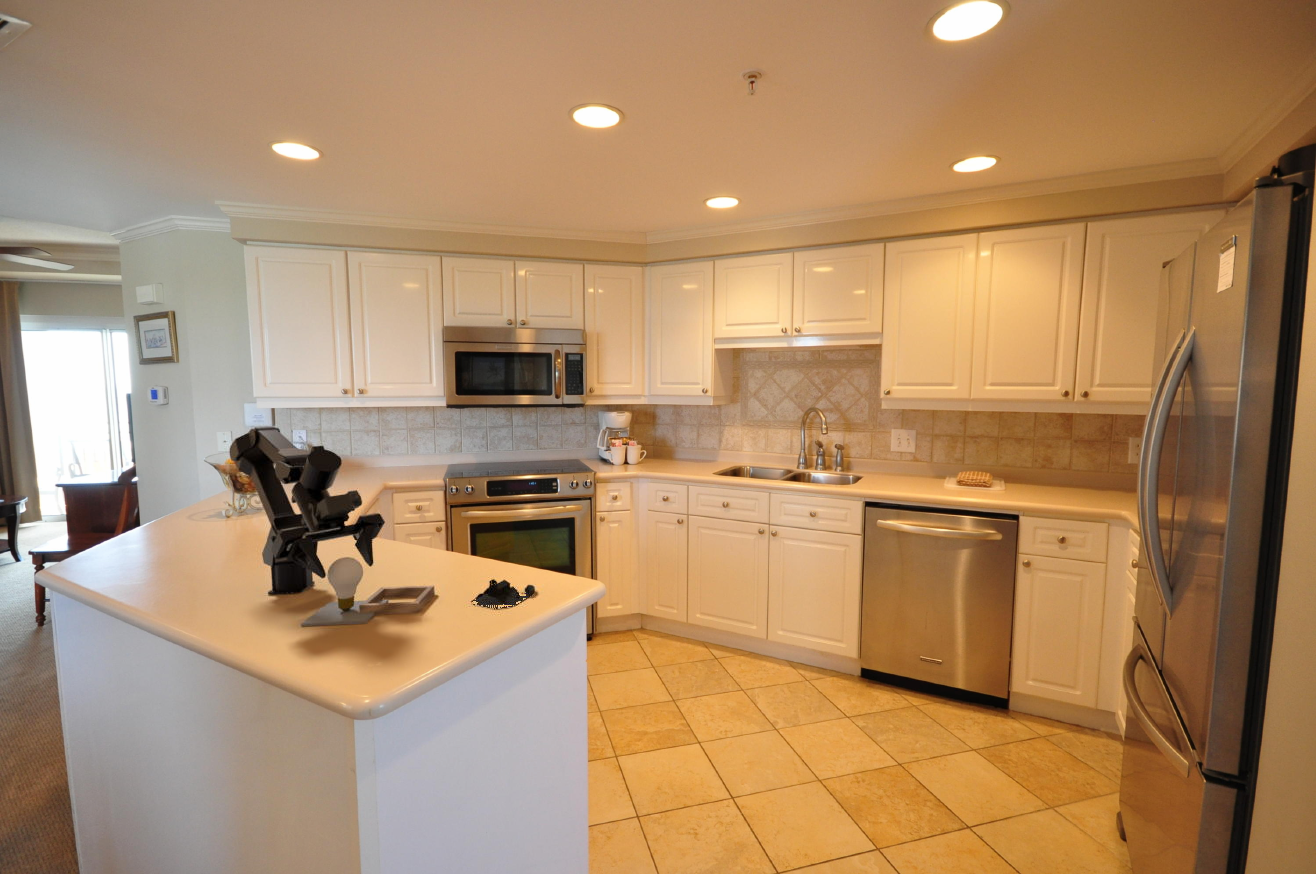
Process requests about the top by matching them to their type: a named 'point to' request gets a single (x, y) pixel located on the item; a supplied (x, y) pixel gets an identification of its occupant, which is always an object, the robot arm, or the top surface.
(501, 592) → the black irregular lumpy piece
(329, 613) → the coaster
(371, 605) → the holder frame
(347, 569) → the light bulb
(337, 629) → the top surface
